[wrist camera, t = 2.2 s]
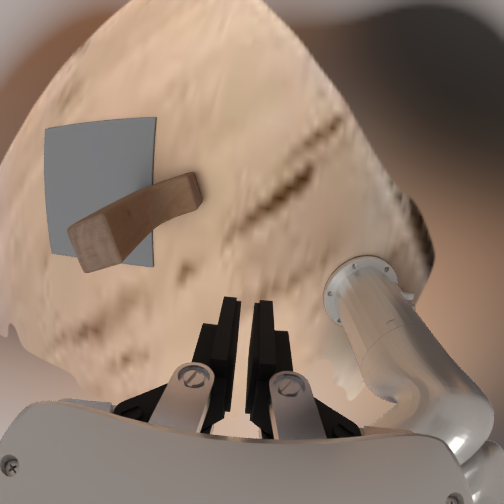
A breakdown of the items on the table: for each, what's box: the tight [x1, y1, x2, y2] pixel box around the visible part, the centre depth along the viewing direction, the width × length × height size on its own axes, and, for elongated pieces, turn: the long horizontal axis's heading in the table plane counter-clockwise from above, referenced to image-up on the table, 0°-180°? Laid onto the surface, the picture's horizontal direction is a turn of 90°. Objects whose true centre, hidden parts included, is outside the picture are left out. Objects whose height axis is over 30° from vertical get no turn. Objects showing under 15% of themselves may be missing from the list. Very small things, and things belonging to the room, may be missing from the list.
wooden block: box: [67, 172, 202, 273], centre depth 29 cm, size 9×4×18 cm, turn 105°
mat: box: [44, 117, 156, 267], centre depth 37 cm, size 21×22×1 cm
